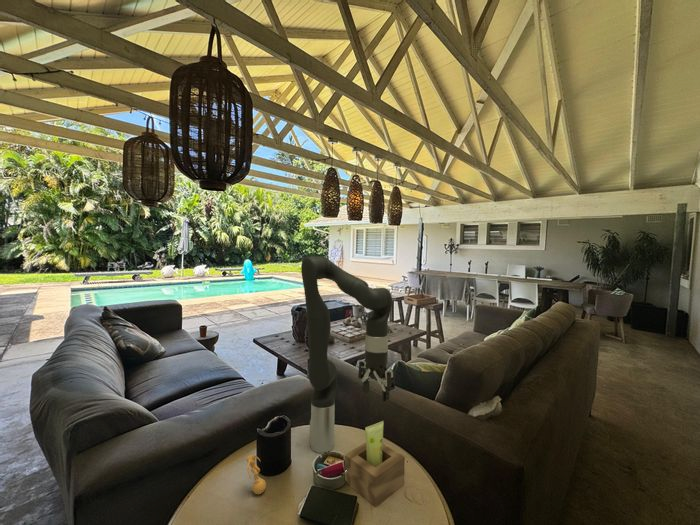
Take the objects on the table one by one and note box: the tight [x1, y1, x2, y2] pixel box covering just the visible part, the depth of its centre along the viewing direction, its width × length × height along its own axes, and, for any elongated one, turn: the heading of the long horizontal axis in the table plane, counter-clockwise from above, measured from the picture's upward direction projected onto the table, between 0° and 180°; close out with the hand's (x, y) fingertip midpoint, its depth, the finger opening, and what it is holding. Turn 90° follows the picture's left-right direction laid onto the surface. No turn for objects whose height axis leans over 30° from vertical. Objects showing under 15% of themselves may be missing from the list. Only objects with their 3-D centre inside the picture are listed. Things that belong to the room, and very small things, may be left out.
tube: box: [364, 420, 385, 467], centre depth 98 cm, size 6×5×20 cm
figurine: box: [246, 453, 267, 495], centre depth 94 cm, size 8×6×12 cm
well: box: [344, 442, 406, 508], centre depth 98 cm, size 14×14×9 cm
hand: (375, 397), depth 98 cm, fingers open, 8 cm apart
